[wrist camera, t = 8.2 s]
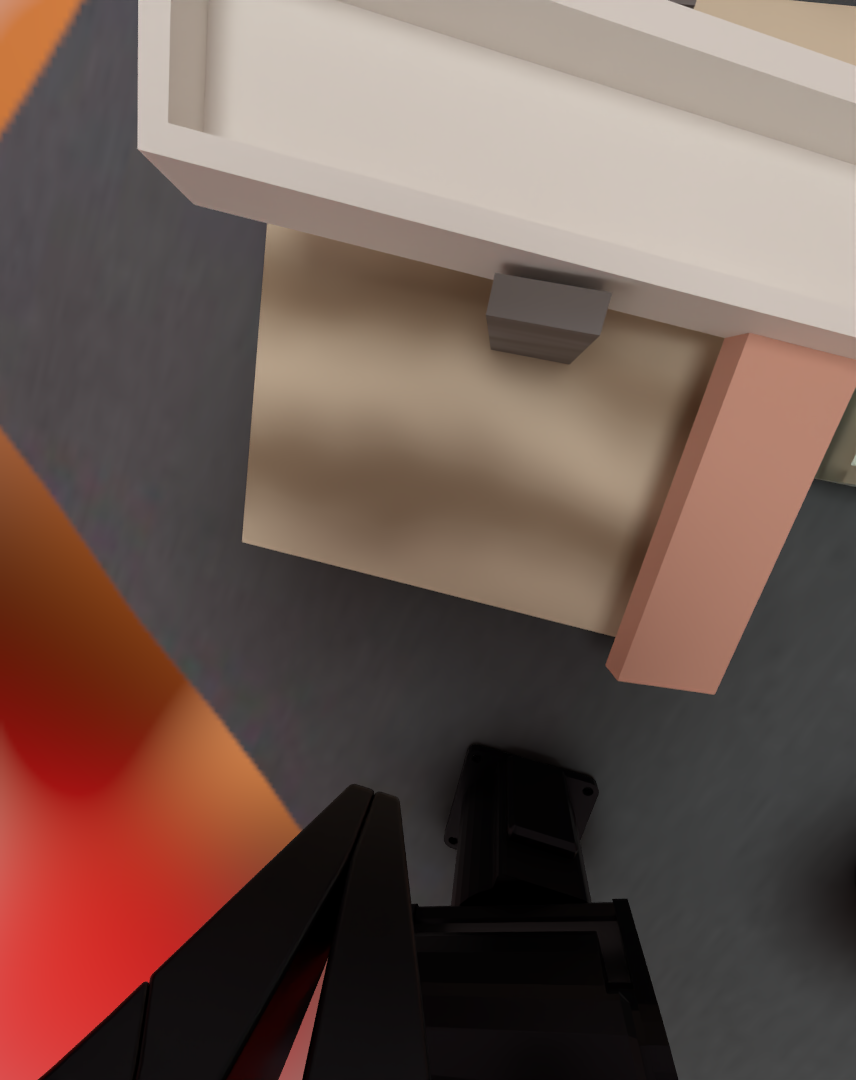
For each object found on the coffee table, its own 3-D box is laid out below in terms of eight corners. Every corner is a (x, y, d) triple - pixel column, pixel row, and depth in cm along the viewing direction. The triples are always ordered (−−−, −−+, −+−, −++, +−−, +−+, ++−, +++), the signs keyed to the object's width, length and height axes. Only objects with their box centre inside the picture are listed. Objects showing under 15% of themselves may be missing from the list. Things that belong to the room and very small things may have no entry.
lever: (697, 678, 17) (747, 724, 15) (179, 603, 15) (135, 642, 12) (913, 185, 12) (1041, 130, 10) (202, -40, 10) (139, -185, 8)
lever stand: (717, 655, 19) (813, 756, 13) (251, 537, 21) (156, 579, 15) (989, 46, 13) (1391, -269, 7) (299, -23, 15) (174, -302, 9)
